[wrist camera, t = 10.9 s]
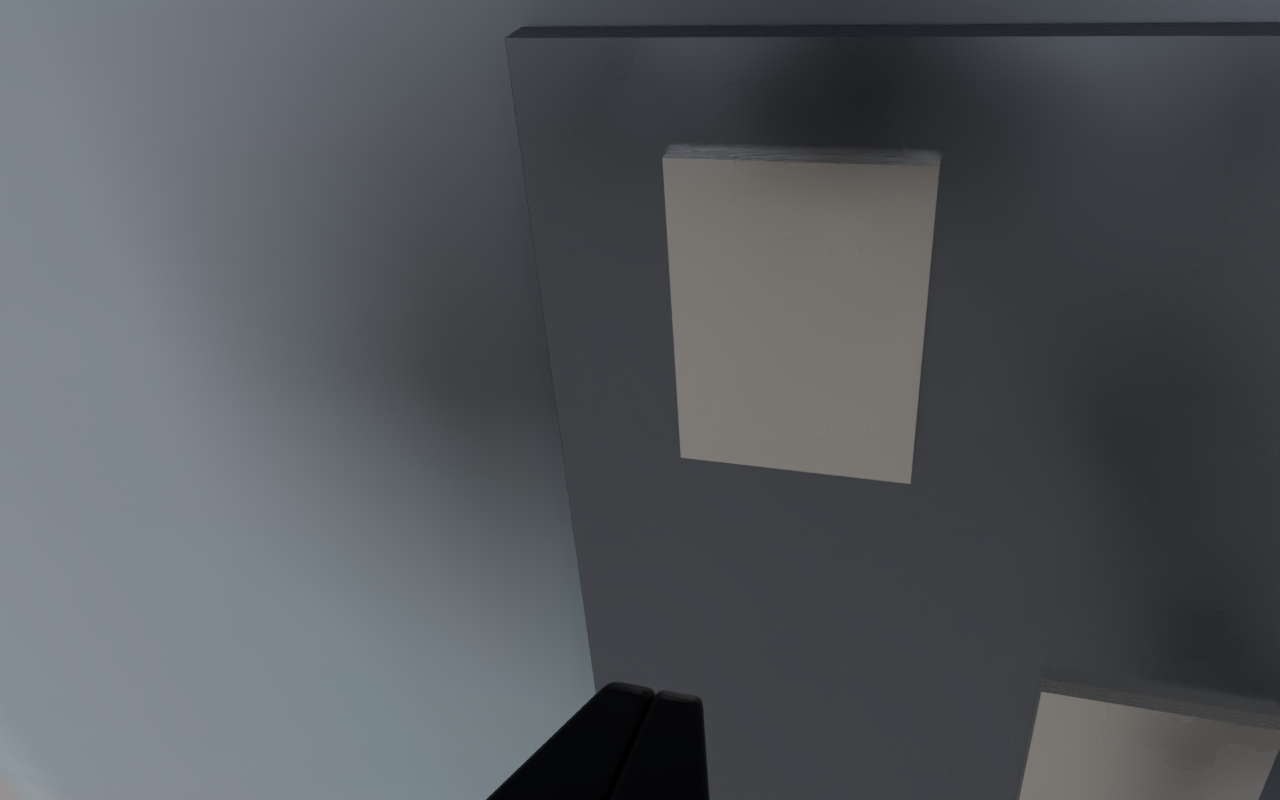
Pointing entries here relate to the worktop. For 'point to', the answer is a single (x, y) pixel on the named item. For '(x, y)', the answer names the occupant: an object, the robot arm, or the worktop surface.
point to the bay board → (923, 395)
